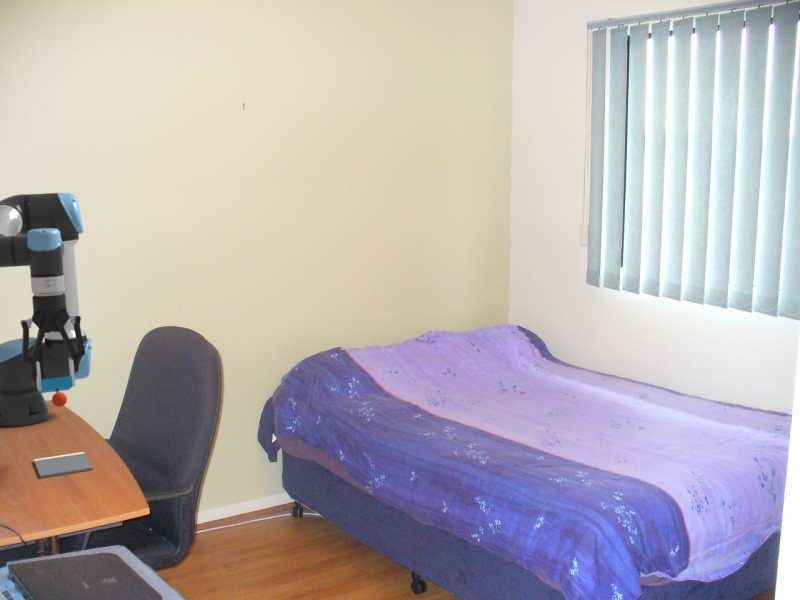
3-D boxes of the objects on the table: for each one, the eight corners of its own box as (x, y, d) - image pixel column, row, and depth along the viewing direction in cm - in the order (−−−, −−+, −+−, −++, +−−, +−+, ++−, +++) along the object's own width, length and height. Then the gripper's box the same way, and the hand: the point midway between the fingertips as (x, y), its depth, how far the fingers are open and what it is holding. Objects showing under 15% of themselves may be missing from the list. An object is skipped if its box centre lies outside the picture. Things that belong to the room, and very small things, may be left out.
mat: (34, 461, 245) (33, 459, 245) (84, 454, 250) (83, 451, 250) (40, 478, 233) (40, 475, 232) (92, 469, 238) (92, 467, 238)
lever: (41, 411, 245) (45, 408, 229) (39, 383, 246) (42, 378, 229) (70, 408, 248) (76, 404, 231) (67, 380, 248) (72, 374, 232)
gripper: (5, 299, 227) (13, 396, 230) (94, 291, 236) (101, 385, 239) (2, 295, 234) (11, 389, 237) (89, 288, 242) (96, 379, 246)
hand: (56, 387), depth 238 cm, fingers closed on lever, 7 cm apart
